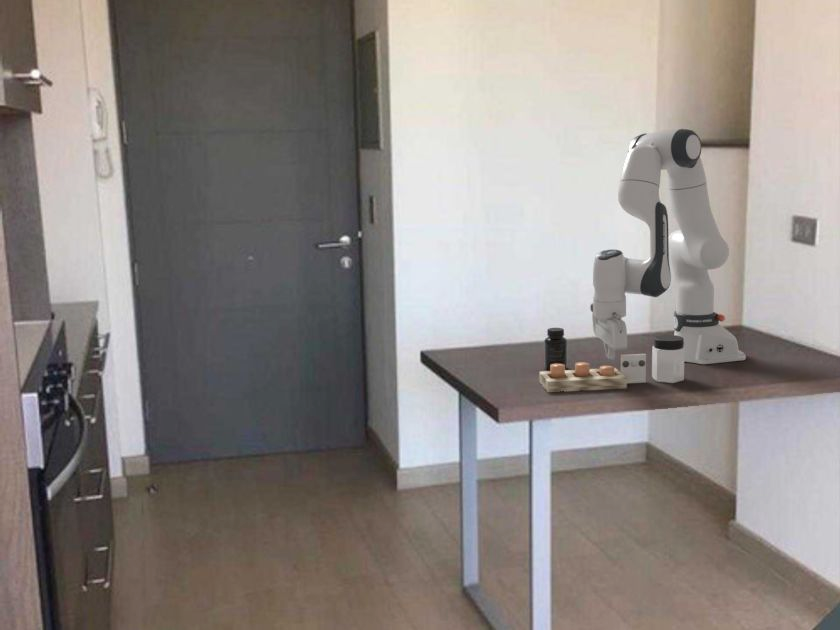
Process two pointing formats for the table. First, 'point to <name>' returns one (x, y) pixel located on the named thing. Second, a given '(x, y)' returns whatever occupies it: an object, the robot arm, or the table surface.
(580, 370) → the button mid
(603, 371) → the button
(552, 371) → the button
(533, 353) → the table surface
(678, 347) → the jar
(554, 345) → the supplement bottle
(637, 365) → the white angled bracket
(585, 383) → the wooden egg tray
